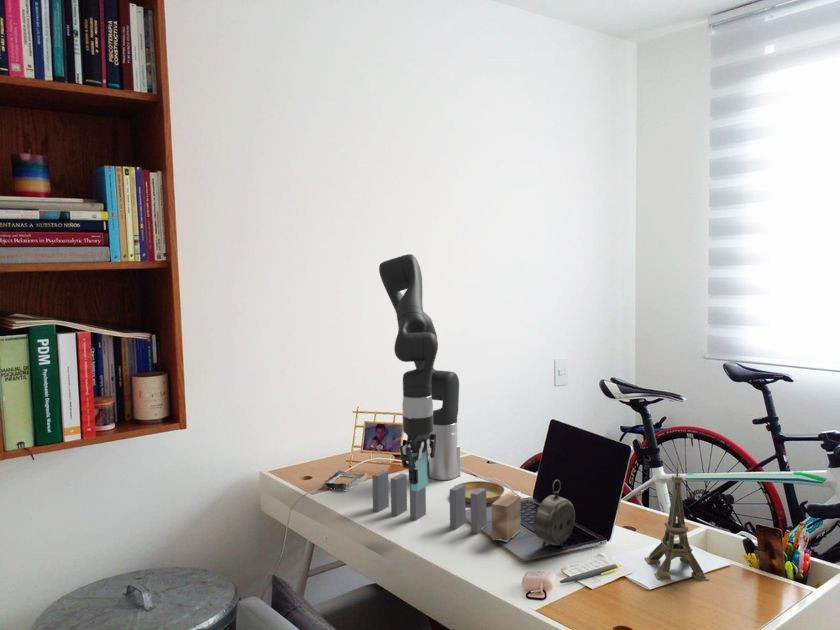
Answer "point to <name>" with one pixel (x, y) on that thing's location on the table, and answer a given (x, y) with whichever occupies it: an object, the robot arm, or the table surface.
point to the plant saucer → (491, 488)
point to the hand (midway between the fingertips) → (419, 479)
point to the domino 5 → (457, 506)
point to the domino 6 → (478, 510)
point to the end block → (506, 517)
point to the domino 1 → (380, 491)
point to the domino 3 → (421, 473)
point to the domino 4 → (417, 503)
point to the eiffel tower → (675, 546)
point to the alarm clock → (554, 519)
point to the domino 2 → (398, 494)
